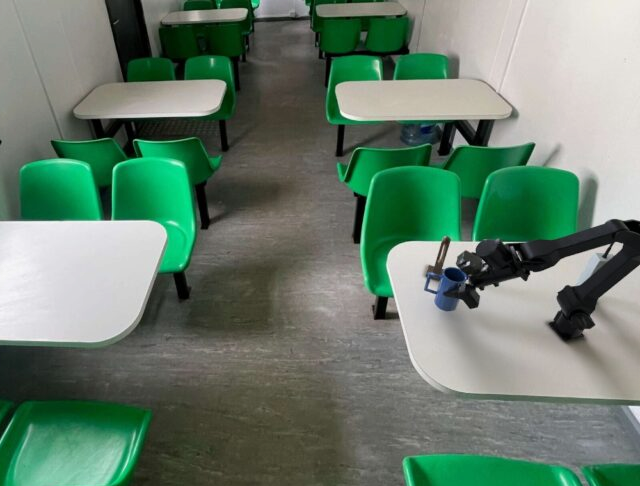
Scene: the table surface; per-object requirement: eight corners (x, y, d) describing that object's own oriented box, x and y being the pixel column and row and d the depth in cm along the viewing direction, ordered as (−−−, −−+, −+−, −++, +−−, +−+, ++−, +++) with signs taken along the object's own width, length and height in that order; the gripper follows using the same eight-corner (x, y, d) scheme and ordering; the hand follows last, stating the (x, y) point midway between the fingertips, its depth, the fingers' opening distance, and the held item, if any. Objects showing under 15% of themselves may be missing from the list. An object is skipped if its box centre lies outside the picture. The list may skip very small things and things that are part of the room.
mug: (458, 299, 130) (468, 271, 123) (455, 314, 126) (465, 285, 119) (424, 288, 135) (431, 260, 127) (419, 302, 130) (427, 274, 123)
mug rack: (446, 272, 144) (458, 234, 134) (439, 299, 134) (452, 260, 124) (428, 266, 146) (439, 229, 136) (420, 293, 136) (431, 254, 126)
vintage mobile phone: (593, 301, 131) (633, 240, 116) (575, 299, 132) (612, 239, 117) (588, 293, 134) (626, 232, 119) (571, 291, 135) (606, 230, 120)
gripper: (483, 230, 121) (435, 248, 132) (476, 272, 108) (423, 287, 119) (505, 259, 122) (456, 274, 133) (501, 303, 109) (446, 316, 120)
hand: (445, 286), depth 126 cm, fingers closed on mug, 6 cm apart
